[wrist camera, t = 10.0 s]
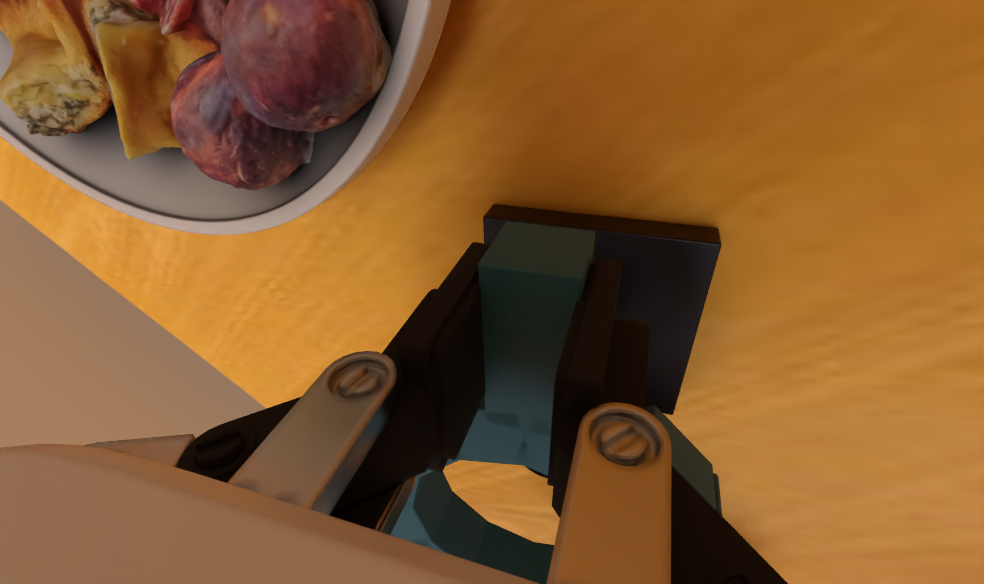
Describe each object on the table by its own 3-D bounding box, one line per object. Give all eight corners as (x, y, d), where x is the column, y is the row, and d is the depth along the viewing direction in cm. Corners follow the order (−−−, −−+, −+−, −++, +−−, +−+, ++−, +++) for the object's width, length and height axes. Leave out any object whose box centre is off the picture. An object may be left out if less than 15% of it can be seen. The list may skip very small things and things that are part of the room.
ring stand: (492, 203, 22) (400, 320, 15) (719, 227, 19) (746, 385, 12) (497, 359, 28) (431, 501, 20) (673, 395, 25) (672, 573, 18)
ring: (681, 614, 17) (682, 679, 16) (406, 527, 20) (383, 574, 18) (845, 258, 9) (885, 321, 7) (329, 200, 12) (276, 235, 10)
